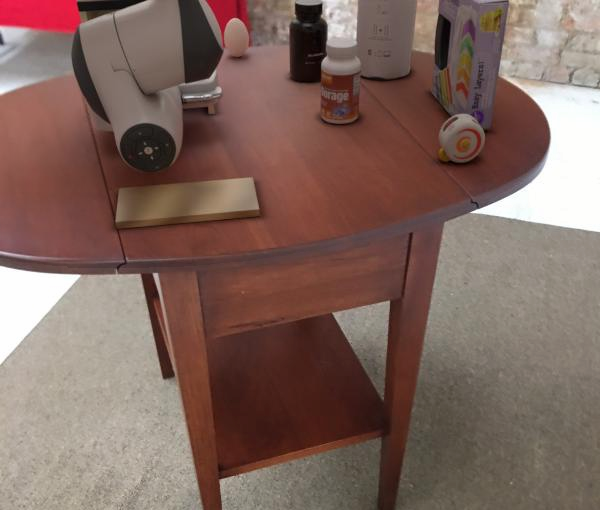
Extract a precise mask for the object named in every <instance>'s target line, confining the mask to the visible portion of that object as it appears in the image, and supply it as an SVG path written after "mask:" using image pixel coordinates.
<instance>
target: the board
mask: <svg viewBox="0 0 600 510" xmlns="http://www.w3.org/2000/svg"><path fill="white" fill-rule="evenodd" d="M117 195H118V196H117V204H116V212H115V220H114V223H115V227H116V229H117V230H121V229H133V228H142V227H153V226H155V227H156V226H166V225H177V224H188V223H199V222H207V221H208V222H210V221H211V222H212V221H221V220H234V219H242V218H244V219H245V218H255V217H261V213H260V206H259V201H258V197H257V190H256V185H255V181H254V177H253V176H250V177H249V176H248V177H238V178H237V177H236V178H227V179H226V178H225V179H216V180H204V181H202V180H201V181H190V182H180V183H179V182H178V183H168V184H167V183H165V184H154V185H143V186H132V187H120V188H118V194H117Z"/></svg>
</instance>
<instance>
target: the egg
mask: <svg viewBox="0 0 600 510" xmlns="http://www.w3.org/2000/svg"><path fill="white" fill-rule="evenodd" d="M223 44H224V46H225V48H226V50H227V52H228V53H229V54H230V55H231V56H232V57H235V58H240V57H242V56H244V55H245V54H246V52H247V51H248V49H249V45H250V36H249V32H248V29H247V27H246V25H245V23H244V22H243V21H242V20H241V19H240V18H237V17H233V18H232V19H230V20H229V21H228V22H227V23H226V26H225V29H224V32H223Z"/></svg>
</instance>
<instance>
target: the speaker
mask: <svg viewBox="0 0 600 510" xmlns="http://www.w3.org/2000/svg"><path fill="white" fill-rule="evenodd" d="M417 9H418V0H357V13H356V35H355V41H356V42H357V54H356V55H355V56H356V57H357V58H358V59H359V60H360V62H361V76H360V77H363V78H365V79H371V80H374V81H375V80H377V81H390V80H391V81H392V80H397V79H401V78H404V77H406V76H408V75H409V74H410V72H411V67H412V66H411V65H412V57H413V49H414V47H413V46H414V38H415V28H416V19H417V18H416V17H417Z"/></svg>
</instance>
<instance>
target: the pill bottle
mask: <svg viewBox="0 0 600 510" xmlns="http://www.w3.org/2000/svg"><path fill="white" fill-rule="evenodd" d="M326 53H327V57H325V58H324V59H323V61H322V64H321V80H320V117H321V119H322V120H323V121H324V122H326V123H330V124H336V125H343V124H344V125H345V124H350V123H353V122H355V121H356V120H357V119H358V118H359V111H360V94H361V93H360V92H361V77H362V76H361V62H360V60H359V59H358V58H357V57H356V56H355V55H356V54H357V42H356V39H353V38H350V37H334V38H330V39H328V41H327V42H326Z"/></svg>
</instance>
